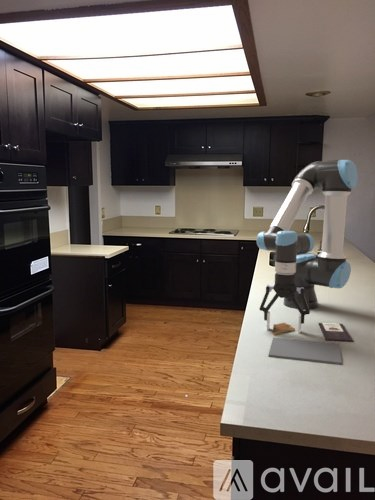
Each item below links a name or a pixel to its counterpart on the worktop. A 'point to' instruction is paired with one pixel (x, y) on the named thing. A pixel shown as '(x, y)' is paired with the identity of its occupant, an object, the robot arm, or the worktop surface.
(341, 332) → the chocolate bar
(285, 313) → the worktop surface
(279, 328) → the shard
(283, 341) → the rubber mat
